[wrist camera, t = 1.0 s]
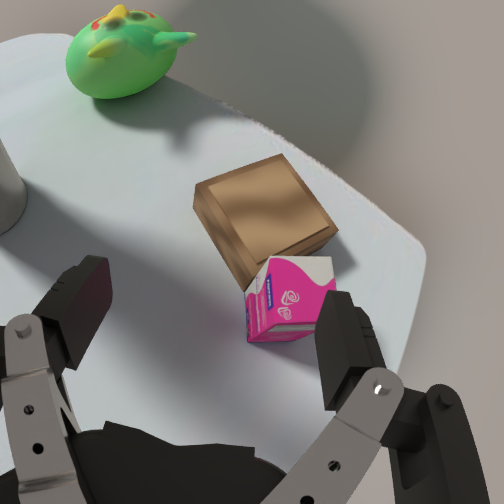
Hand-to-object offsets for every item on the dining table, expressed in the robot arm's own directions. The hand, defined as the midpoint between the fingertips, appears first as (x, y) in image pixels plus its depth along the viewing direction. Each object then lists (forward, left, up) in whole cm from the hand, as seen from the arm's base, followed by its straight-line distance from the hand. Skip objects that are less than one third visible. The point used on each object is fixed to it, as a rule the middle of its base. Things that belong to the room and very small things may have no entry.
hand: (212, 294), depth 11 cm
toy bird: (-42, +9, -23) cm, 49 cm away
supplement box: (+1, +10, -23) cm, 25 cm away
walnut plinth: (-9, +15, -23) cm, 29 cm away
